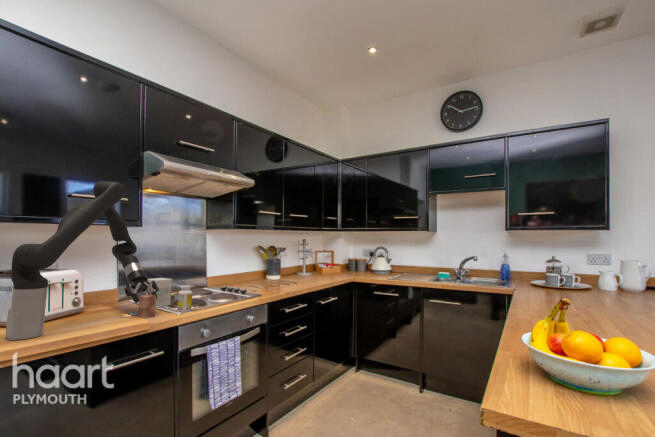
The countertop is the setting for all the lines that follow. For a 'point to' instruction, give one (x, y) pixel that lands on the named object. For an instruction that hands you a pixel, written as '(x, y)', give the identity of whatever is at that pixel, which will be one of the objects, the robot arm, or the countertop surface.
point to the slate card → (133, 313)
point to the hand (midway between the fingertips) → (147, 300)
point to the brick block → (147, 306)
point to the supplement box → (162, 291)
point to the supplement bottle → (184, 299)
